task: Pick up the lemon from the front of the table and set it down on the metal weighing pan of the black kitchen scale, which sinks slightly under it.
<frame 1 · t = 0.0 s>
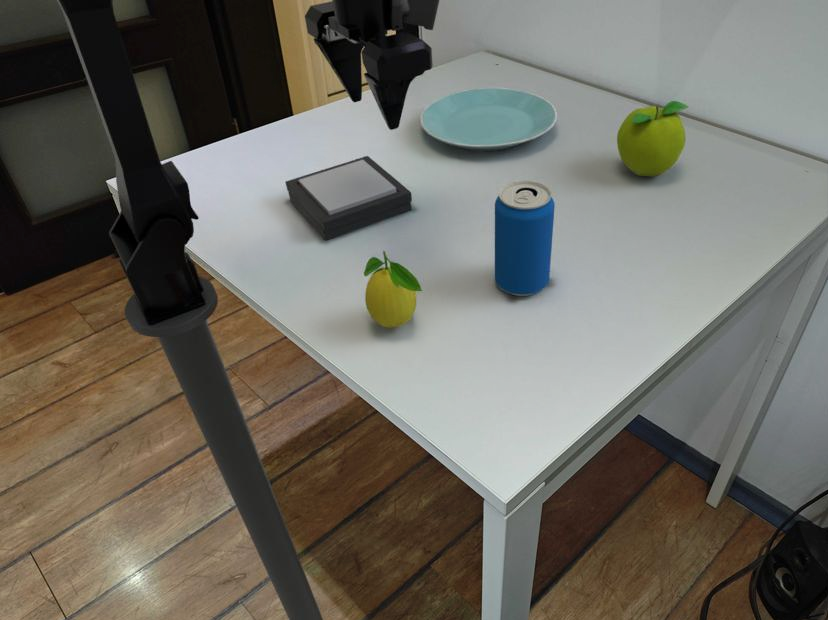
hand: (374, 114, 77), 16 cm above the table, tool pointing down, fingers open, 9 cm apart
scale: (350, 205, 93), on the table
fruit: (645, 172, 98), on the table
lemon: (396, 326, 75), on the table
beverage can: (521, 284, 80), on the table
plate: (488, 131, 110), on the table
scale pan: (347, 188, 92), point 3 cm above the table, slide at -0.6 cm
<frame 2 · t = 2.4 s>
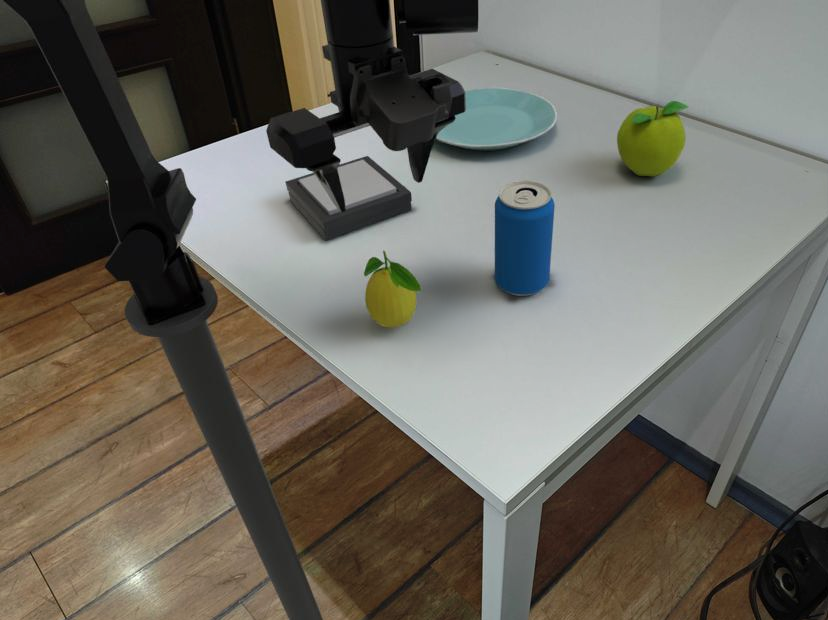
hand: (380, 195, 68), 14 cm above the table, tool pointing down, fingers open, 9 cm apart
nothing on the table moved.
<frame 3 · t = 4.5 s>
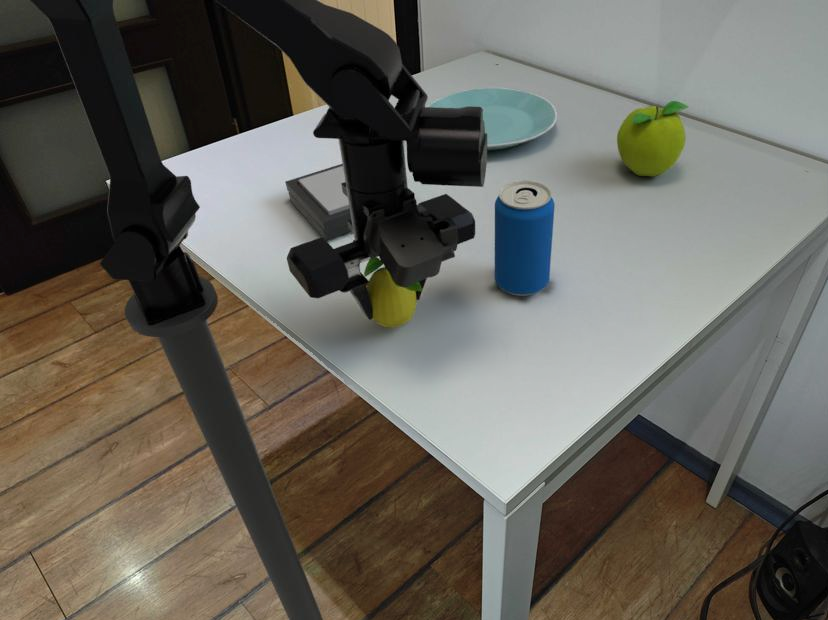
hand: (392, 307, 73), 3 cm above the table, tool pointing down, fingers closed on lemon, 5 cm apart
lemon: (396, 326, 75), on the table, touching gripper
everything else where it was.
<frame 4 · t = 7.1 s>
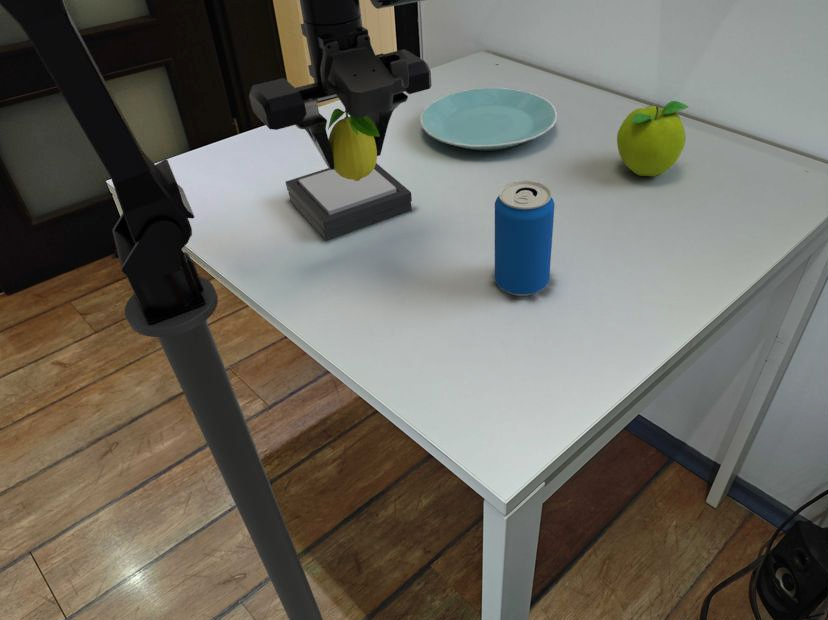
hand: (354, 161, 77), 12 cm above the table, tool pointing down, fingers closed on lemon, 5 cm apart
lemon: (359, 182, 79), point 10 cm above the table, touching gripper
everything else where it was.
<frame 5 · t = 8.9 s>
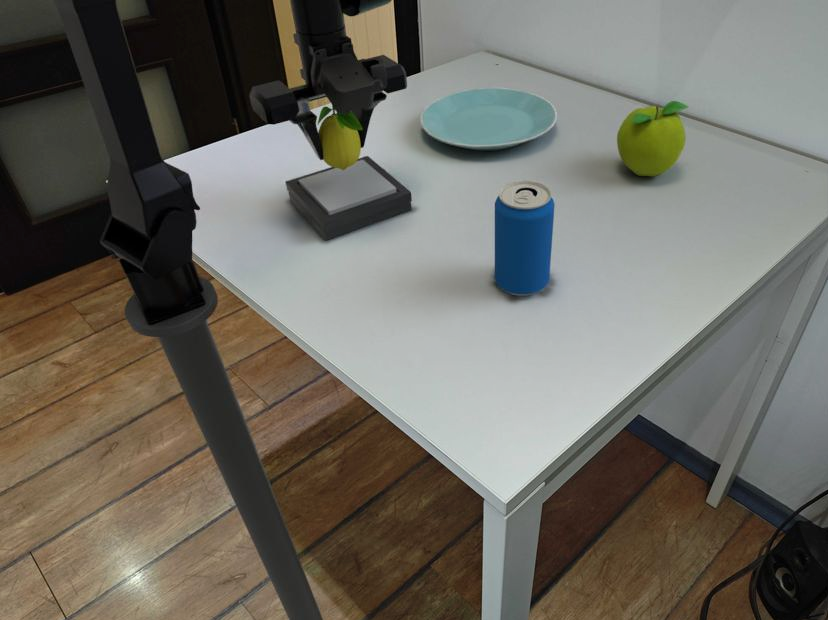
hand: (340, 152, 88), 8 cm above the table, tool pointing down, fingers closed on lemon, 5 cm apart
lemon: (345, 171, 90), point 5 cm above the table, touching gripper
everything else where it was.
when the fingers open (6 cm above the table, at t = 10.1 s): lemon stays where it is, resting on scale pan.
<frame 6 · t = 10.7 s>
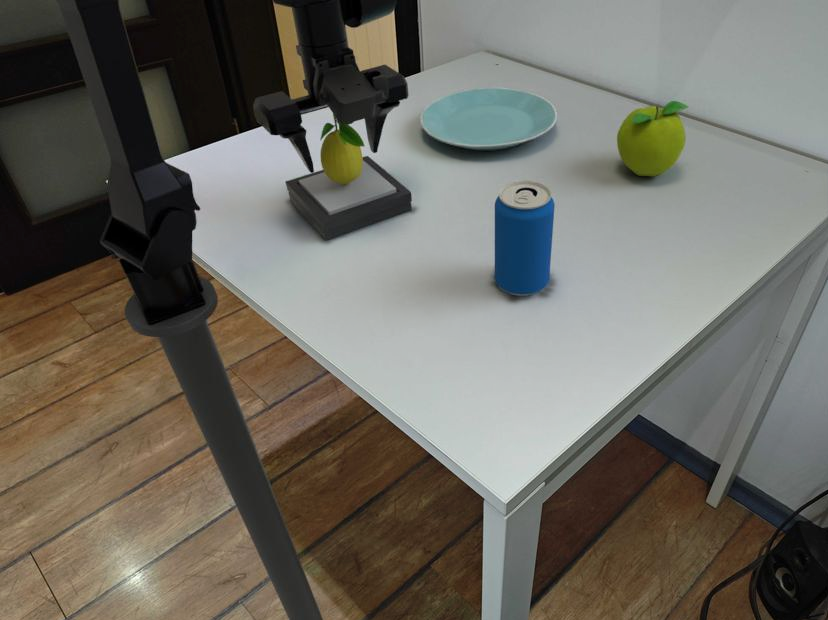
hand: (343, 161, 89), 7 cm above the table, tool pointing down, fingers open, 9 cm apart
lemon: (347, 185, 91), point 3 cm above the table, touching scale pan
scale pan: (347, 189, 92), point 3 cm above the table, slide at -0.7 cm, touching lemon
everything else where it was.
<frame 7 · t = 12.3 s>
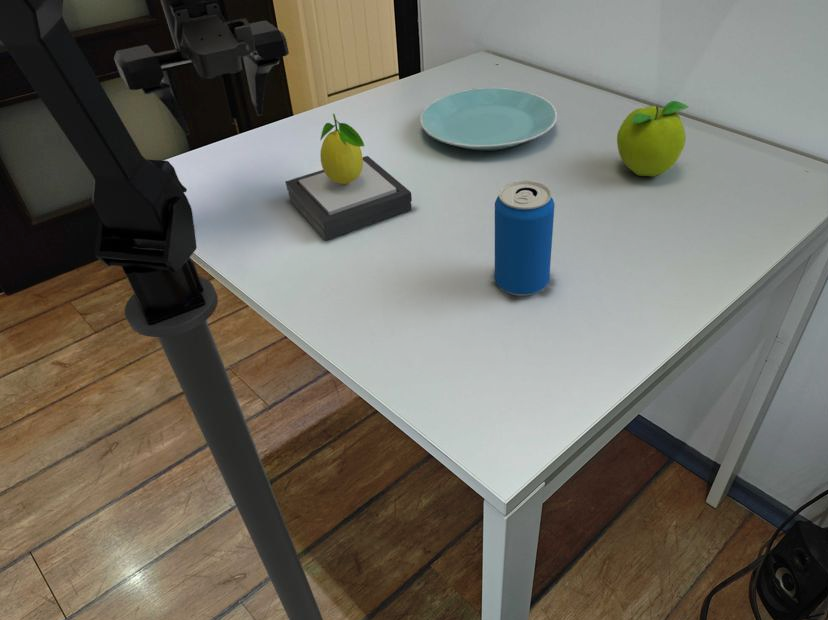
hand: (223, 123, 84), 13 cm above the table, tool pointing down, fingers open, 9 cm apart
nothing on the table moved.
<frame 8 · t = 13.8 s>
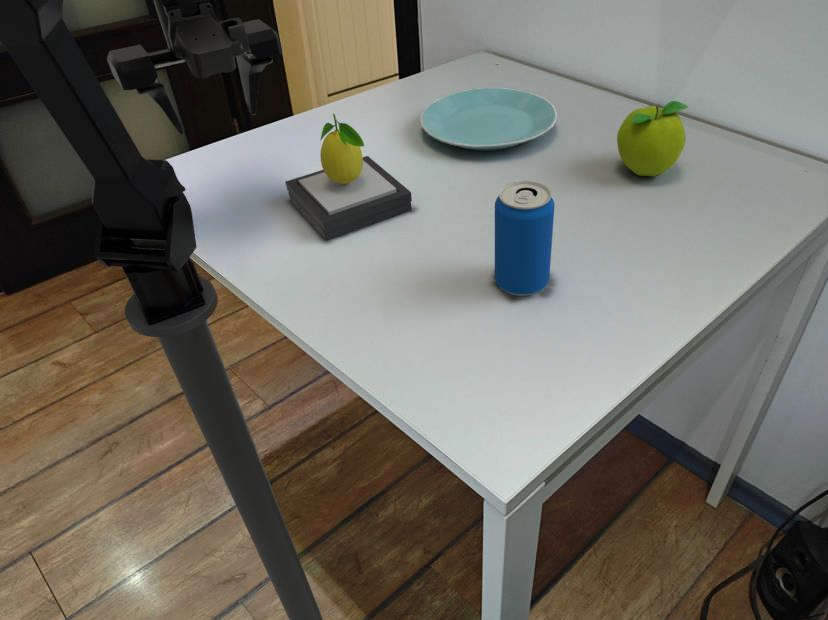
hand: (217, 123, 84), 13 cm above the table, tool pointing down, fingers open, 9 cm apart
nothing on the table moved.
at the end: lemon inside the target area on the scale (0.1 cm from its centre), point 3.2 cm above the scale's base; the gripper is holding nothing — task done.
